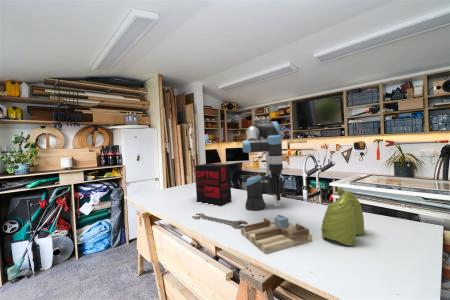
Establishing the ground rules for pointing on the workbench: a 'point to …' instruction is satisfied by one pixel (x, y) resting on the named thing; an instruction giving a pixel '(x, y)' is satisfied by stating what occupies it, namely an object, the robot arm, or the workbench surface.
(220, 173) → the product box
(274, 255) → the workbench surface
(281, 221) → the block
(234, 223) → the wrench
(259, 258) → the workbench surface
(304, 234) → the tan flat ridged piece
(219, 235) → the workbench surface
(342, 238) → the lungs
